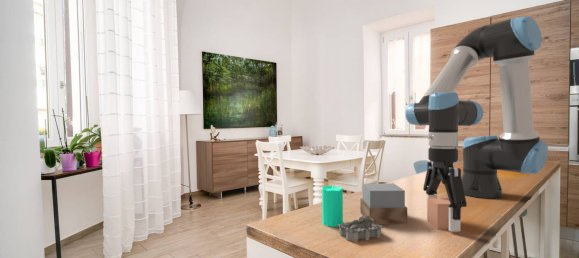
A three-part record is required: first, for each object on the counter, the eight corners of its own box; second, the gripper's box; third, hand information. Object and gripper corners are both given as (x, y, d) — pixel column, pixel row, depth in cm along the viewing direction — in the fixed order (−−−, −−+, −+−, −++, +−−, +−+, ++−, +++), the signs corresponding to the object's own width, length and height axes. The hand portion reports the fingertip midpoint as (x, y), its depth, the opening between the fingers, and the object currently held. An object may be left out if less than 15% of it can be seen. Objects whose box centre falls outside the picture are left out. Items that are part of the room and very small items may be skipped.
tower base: (394, 213, 100) (394, 198, 100) (407, 224, 89) (407, 207, 89) (360, 213, 100) (360, 198, 100) (369, 225, 89) (369, 208, 89)
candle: (318, 221, 92) (318, 181, 91) (335, 218, 94) (335, 179, 94) (328, 228, 86) (328, 185, 86) (346, 224, 89) (346, 183, 88)
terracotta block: (447, 221, 91) (447, 198, 90) (458, 228, 85) (459, 203, 84) (427, 222, 91) (427, 198, 90) (437, 229, 85) (437, 204, 84)
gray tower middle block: (393, 198, 99) (393, 183, 99) (404, 207, 89) (404, 190, 89) (362, 199, 99) (362, 183, 99) (370, 207, 89) (370, 190, 89)
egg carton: (370, 228, 86) (370, 214, 86) (386, 238, 79) (386, 222, 79) (335, 233, 83) (335, 218, 83) (349, 243, 76) (349, 227, 76)
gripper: (412, 144, 99) (412, 210, 100) (453, 151, 75) (452, 239, 76) (435, 143, 99) (435, 210, 100) (483, 151, 75) (482, 239, 76)
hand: (442, 223), depth 88 cm, fingers open, 12 cm apart
